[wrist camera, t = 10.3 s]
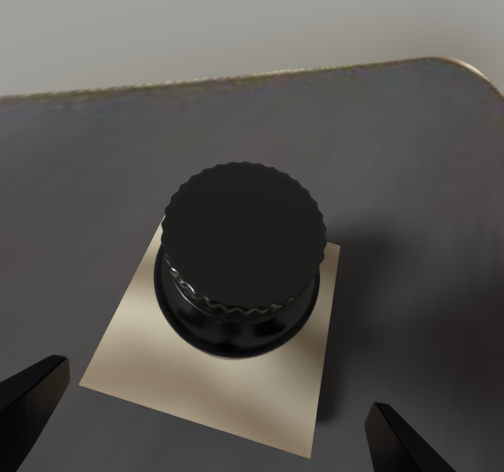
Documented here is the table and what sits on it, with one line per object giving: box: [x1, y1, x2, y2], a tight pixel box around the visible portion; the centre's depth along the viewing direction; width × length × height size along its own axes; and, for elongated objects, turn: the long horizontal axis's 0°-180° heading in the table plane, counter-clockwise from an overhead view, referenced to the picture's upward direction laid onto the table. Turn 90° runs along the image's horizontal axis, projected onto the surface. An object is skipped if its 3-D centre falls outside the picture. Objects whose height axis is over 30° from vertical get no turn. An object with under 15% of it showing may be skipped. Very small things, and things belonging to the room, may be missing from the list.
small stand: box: [79, 216, 340, 458], centre depth 20 cm, size 14×14×4 cm
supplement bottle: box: [154, 161, 327, 361], centre depth 13 cm, size 7×7×12 cm
